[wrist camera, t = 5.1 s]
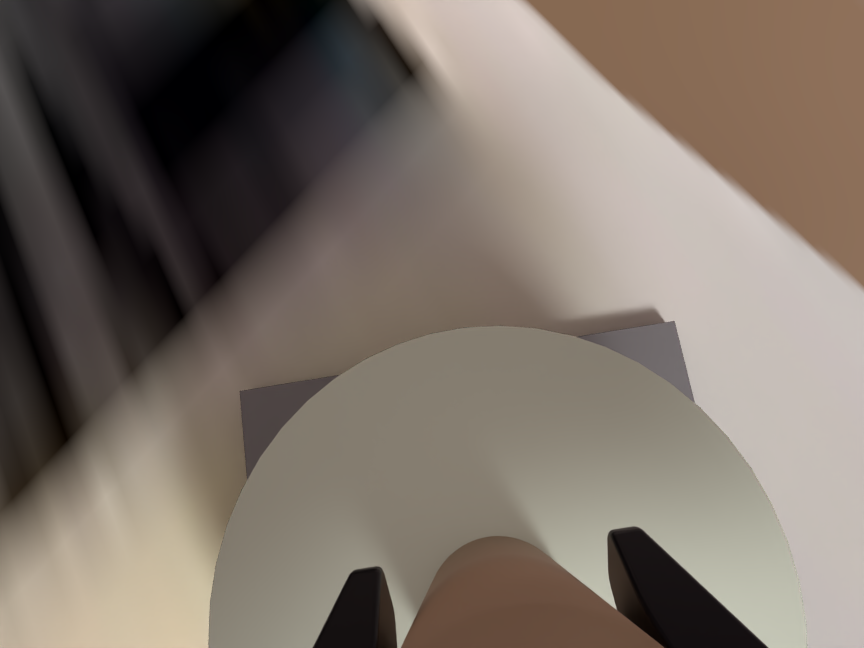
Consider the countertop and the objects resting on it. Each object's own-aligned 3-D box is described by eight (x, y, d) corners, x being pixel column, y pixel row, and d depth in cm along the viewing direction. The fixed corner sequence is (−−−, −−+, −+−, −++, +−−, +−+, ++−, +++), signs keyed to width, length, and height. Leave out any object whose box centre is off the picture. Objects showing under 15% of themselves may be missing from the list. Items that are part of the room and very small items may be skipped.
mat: (788, 812, 17) (799, 824, 16) (288, 886, 17) (282, 900, 17) (668, 326, 20) (674, 321, 19) (246, 394, 20) (239, 391, 20)
